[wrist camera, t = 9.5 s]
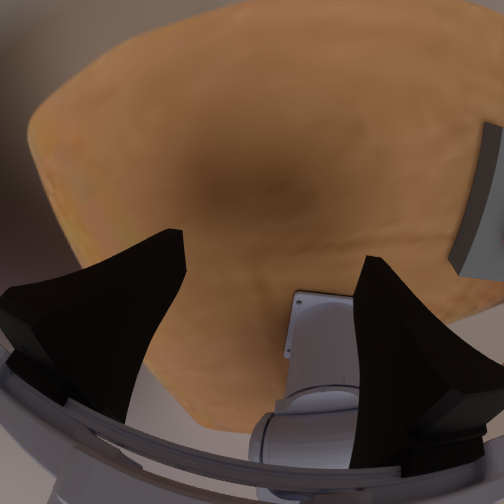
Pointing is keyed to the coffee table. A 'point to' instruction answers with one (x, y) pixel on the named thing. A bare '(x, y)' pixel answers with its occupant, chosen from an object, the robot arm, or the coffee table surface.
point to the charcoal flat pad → (484, 214)
